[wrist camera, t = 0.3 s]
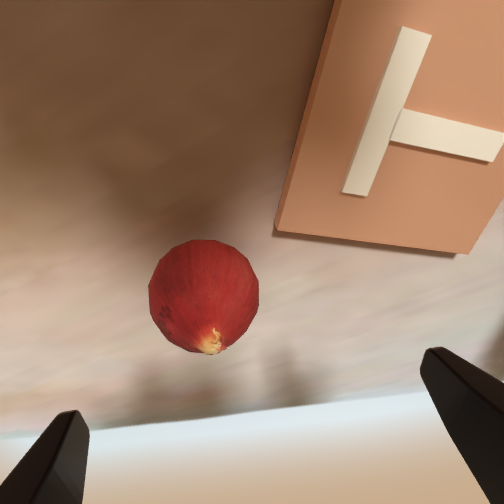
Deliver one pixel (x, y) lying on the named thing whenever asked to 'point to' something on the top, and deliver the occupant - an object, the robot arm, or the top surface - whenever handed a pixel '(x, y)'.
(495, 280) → the top surface
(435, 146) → the letter tile
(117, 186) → the top surface
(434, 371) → the robot arm
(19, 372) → the top surface
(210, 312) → the onion
